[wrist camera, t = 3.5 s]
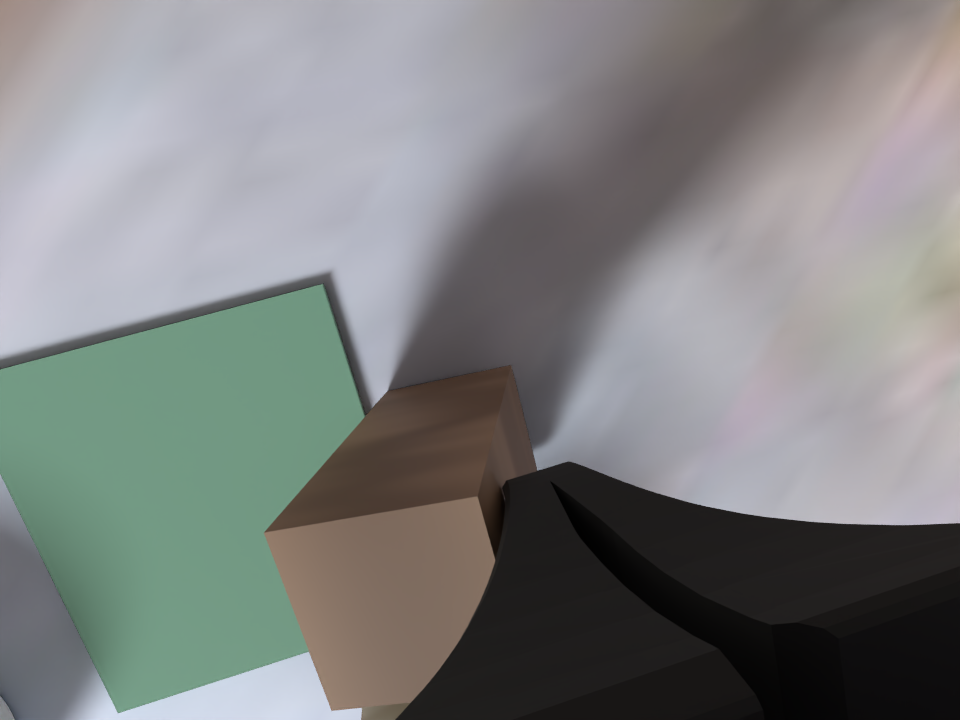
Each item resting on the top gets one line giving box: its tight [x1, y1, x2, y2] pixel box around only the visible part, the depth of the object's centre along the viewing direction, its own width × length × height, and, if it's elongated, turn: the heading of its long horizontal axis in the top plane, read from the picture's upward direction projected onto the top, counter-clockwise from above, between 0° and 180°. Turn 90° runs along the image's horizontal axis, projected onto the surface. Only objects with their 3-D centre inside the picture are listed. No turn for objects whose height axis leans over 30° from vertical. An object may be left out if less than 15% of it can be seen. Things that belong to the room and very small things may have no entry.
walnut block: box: [264, 365, 537, 711], centre depth 12 cm, size 4×4×7 cm
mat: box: [0, 283, 366, 713], centre depth 15 cm, size 9×10×1 cm
